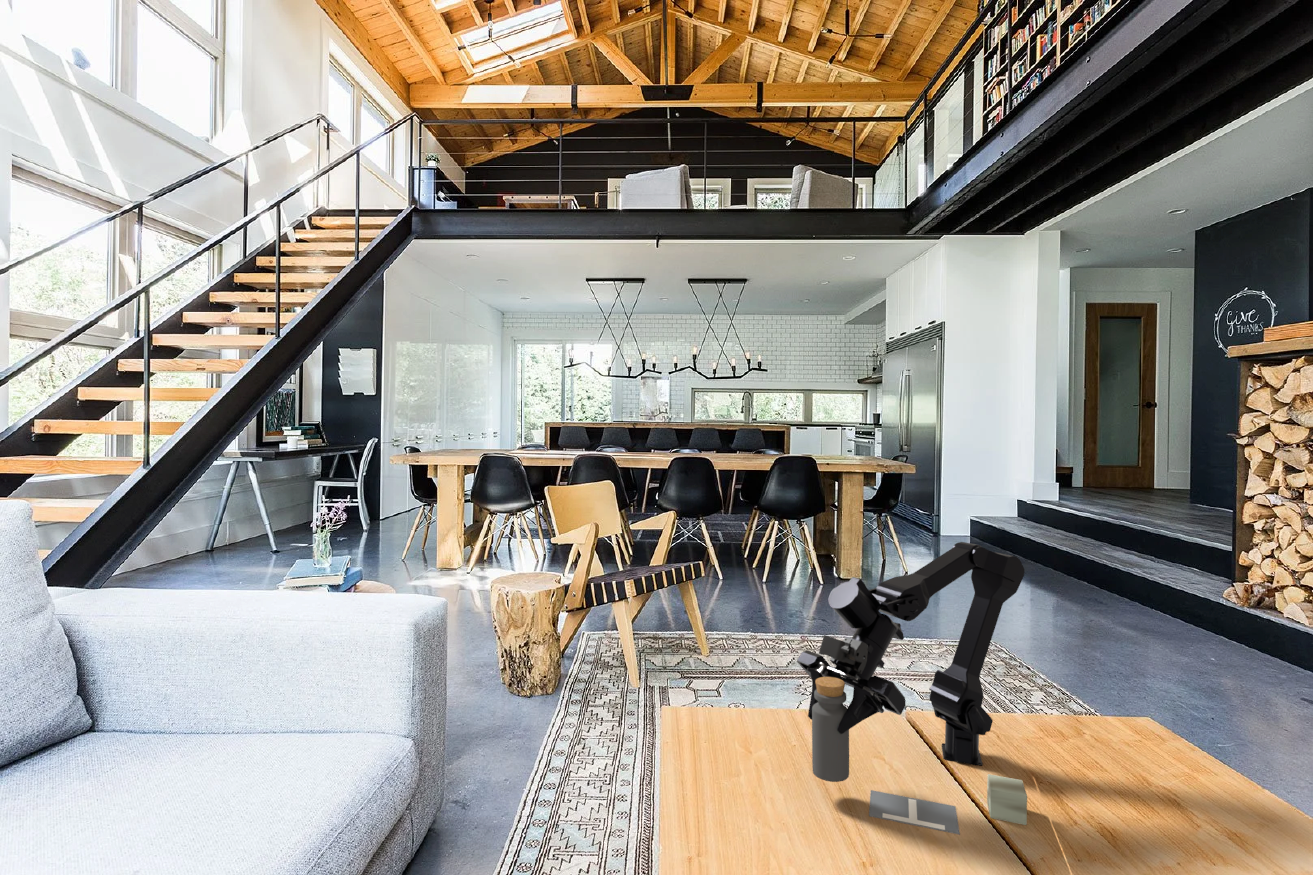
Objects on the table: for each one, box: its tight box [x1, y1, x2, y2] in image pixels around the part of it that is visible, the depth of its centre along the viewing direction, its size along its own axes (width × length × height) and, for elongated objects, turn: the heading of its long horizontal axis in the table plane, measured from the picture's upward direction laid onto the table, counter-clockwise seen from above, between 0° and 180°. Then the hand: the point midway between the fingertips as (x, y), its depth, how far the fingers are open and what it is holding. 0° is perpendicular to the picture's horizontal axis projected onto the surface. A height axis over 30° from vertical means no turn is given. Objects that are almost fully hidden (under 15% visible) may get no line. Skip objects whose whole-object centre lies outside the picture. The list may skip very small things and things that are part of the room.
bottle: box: [811, 677, 850, 783], centre depth 109 cm, size 6×6×15 cm
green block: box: [986, 773, 1028, 826], centre depth 106 cm, size 5×5×5 cm
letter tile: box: [868, 789, 961, 836], centre depth 106 cm, size 8×13×1 cm, turn 70°
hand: (824, 725), depth 108 cm, fingers closed on bottle, 6 cm apart
